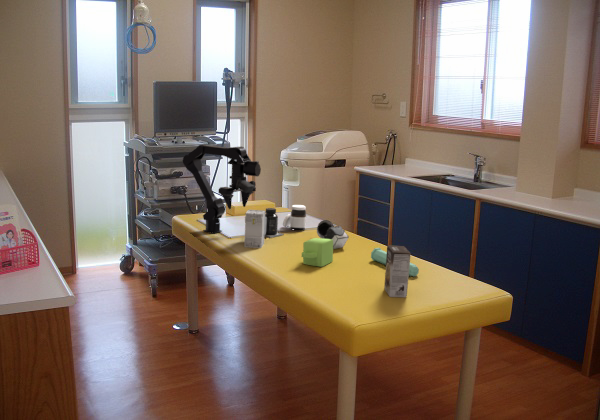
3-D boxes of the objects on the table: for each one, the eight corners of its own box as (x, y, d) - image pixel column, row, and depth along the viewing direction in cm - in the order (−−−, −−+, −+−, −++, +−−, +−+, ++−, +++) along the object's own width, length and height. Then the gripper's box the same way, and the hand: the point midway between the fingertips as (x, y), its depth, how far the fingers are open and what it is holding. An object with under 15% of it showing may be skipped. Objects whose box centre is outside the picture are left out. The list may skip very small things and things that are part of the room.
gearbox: (315, 256, 263) (316, 234, 262) (337, 259, 259) (337, 237, 258) (295, 265, 248) (296, 242, 246) (318, 269, 243) (318, 245, 242)
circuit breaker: (266, 240, 285) (267, 208, 282) (261, 248, 271) (262, 214, 268) (250, 239, 285) (251, 206, 282) (244, 246, 271) (245, 213, 269)
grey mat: (256, 234, 295) (256, 233, 295) (269, 231, 301) (269, 230, 301) (270, 238, 289) (270, 237, 289) (283, 235, 296) (283, 234, 296)
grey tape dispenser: (310, 237, 294) (311, 217, 292) (330, 237, 297) (331, 216, 295) (329, 251, 270) (330, 229, 269) (350, 250, 274) (351, 228, 272)
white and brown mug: (305, 231, 305) (306, 208, 302) (282, 230, 305) (283, 207, 302) (305, 226, 316) (306, 203, 314) (283, 225, 316) (284, 202, 314)
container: (420, 261, 239) (380, 245, 260) (408, 269, 237) (369, 251, 258) (423, 274, 241) (383, 257, 262) (411, 282, 239) (372, 263, 260)
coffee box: (383, 288, 224) (386, 245, 221) (401, 288, 224) (404, 245, 221) (389, 297, 215) (392, 251, 212) (407, 297, 216) (411, 252, 212)
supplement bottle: (279, 233, 297) (280, 208, 295) (274, 236, 291) (275, 210, 289) (265, 231, 299) (266, 206, 297) (260, 234, 293) (261, 209, 291)
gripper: (235, 178, 274) (234, 213, 277) (264, 174, 288) (263, 208, 291) (218, 175, 281) (217, 209, 284) (247, 172, 295) (246, 204, 298)
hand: (237, 207), depth 289 cm, fingers open, 9 cm apart
